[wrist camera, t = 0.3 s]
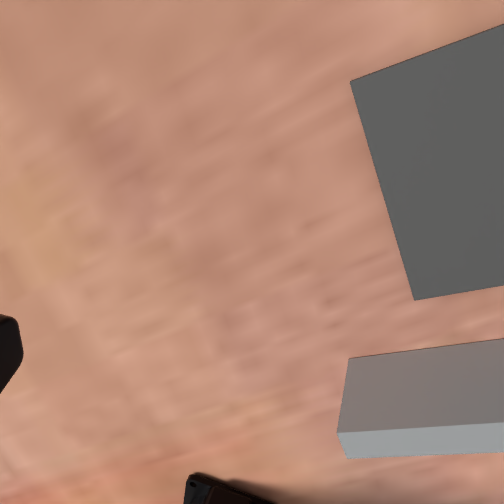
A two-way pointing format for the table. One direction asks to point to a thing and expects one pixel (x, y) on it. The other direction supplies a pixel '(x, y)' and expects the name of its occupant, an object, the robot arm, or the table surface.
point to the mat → (442, 161)
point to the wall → (425, 402)
